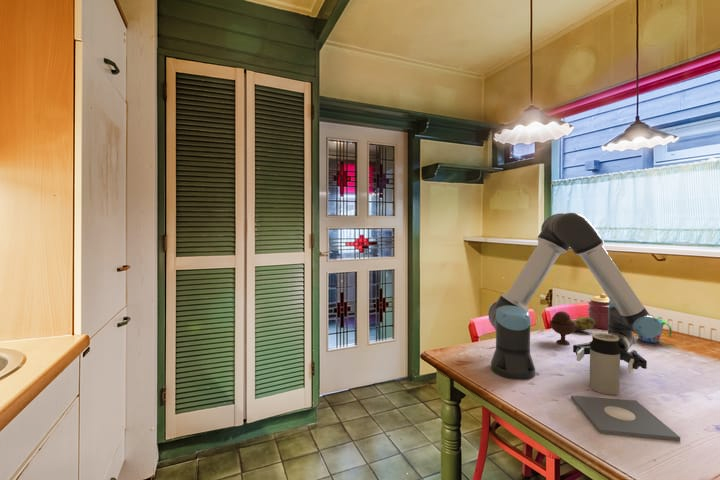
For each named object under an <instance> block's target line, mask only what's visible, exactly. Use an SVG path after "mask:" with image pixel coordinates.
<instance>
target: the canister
mask: <svg viewBox="0 0 720 480" xmlns="http://www.w3.org/2000/svg"><path fill="white" fill-rule="evenodd" d="M589 300H590V301H589V302H588V303H587V304H588V306H589V307H588V309H587V311H588V312H587V313H588V316H587V317H590V318H592V319H594V320H595V325H594V328H597V329H602V330H608V307H609V300H610V299H609V297H608V296H607V295H606V293H603V292H602V293H600V295H599V296H598V295H597V296H595V295H594V296H593V297H591V298H589Z"/></svg>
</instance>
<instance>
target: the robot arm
mask: <svg viewBox="0 0 720 480" xmlns="http://www.w3.org/2000/svg"><path fill="white" fill-rule="evenodd" d="M540 229H541V230H540V233H539V235H538V236H537V237H536V239H537V243H538V244H537V246H536V247H535V248H534V250H533V251H532V253H531V255H530V256H529V258H528V259H527V261H526V263H525V264H524V265H523V267H522V269H521V271H520V272H519V273H518V275H517V276H516V279H515V280H514V282H513V283H512V285H511V286H510V288H509V290H508V291H507V292H506V293H502V294H501V295H500V296H499V297H498V299H497V301H495V302H493V303H492V304H491V305H490V306H489V309H488V313H487V316H488V320H489V322H490V324H491V325H492V326H493V329H494V330H495V350H494V353H493V356H492V358H491V361H490V369H491V371H492V372H493V373H495V374H496V375H498V376H500V377H504V378H506V379H511V380H518V381H519V380H521V381H525V380H530V379H533V378H534V377H535V376H536V366H535V364H534V361H533V359H532V355H531V323H532V321H531V315H530V312H529V308H528V304H529V303H530V301H531V299H532V298H533V297H534V294H536V292H537V290H538V289H539V287H540V285H542V282H543V281H544V280H545V278H546V276H547V275H548V274H549V272H550V270H551V269H552V268H553V266H554V264H555V263H556V261H557V259H558V258H559V257H560V255H562V254H565V253H568V250H569V249H571V250H572V251H573V253H574V254H575V255H577V256H580V258H581V259H582V260H583V262H584V264H585V265H586V267H587V268H588V270H589V272H590V273H591V274H592V275H593V277H594V278H595V280H596V282H597V283H598V285H600V287H601V289H602V290H603V291H604V294H605V295H606V297H609V299H610V300H609V307H608V329H607V334H611V335H615V336H617V337H618V338H619V340H618V345H619V347H620V361H624V362H625V363H627V374H629V375H630V374H632V372H633V370H639V368H642V369H644V370H646V369H647V368H648V367H647V366H648V365H647V364H648V360H646V359H645V358H644V357H642V356H641V354H639V353H638V351H637V350H630V348H631V347H632V346H633V344H634V343H635V335H634V334H636V335H637V336H638V335H641V336H643V337H646V338H652V337H655V336H657V335H658V334H659V333H660V332H661V329H662V330H663V328H662V326H661V323H660V321H659V320H658V319H659V318H658V319H656V318H657V317H655V316H653V315H650V313H649V312H648V310H647V309H646V307H645V306H644V305H643V303H642V302H641V300H640V299H639V297H638V295H637V294H636V292H635V291H634V290H633V288H632V287H631V286H630V284H629V282H628V281H627V280H626V278H625V276H623V274H622V272H621V271H620V269H619V268H618V266H617V265H616V263H615V262H614V260H613V259H612V258H611V256H610V254H609V252H608V251H607V250H606V249H605V247H604V246H603V244H604V242H605V241H604V240H603V238H602V237H601V235H600V234H599V232H598V231H597V230H596V228H595V227H594V226H593V224H592V223H591V222H590V221H589V219H587V217H585V216H584V215H582V214H580V213H576V212H566V213H561V212H560V213H556V214H552V215H551V216H547V218H546V219H544V221H543V222H542V224H541V228H540ZM590 343H591V341H589V342H585V343H577V344H573V345H572V352H573V353H575V355H576V361H577V362H580V361H581V360H582V359H583V358H584V357H585V355H590ZM629 350H630V351H629Z"/></svg>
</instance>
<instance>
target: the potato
mask: <svg viewBox="0 0 720 480" xmlns="http://www.w3.org/2000/svg"><path fill="white" fill-rule="evenodd" d="M571 320H572V319H571ZM572 321H573V322H574V323H576V324H577V329H576V330H575V331H574V332H576V331H577V332H583V331H588V330H593V329H594V328H595V327H594V325H595V320H594V319H592V318H590V317H588V316H581V317H578V318H575V319H573V320H572Z"/></svg>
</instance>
